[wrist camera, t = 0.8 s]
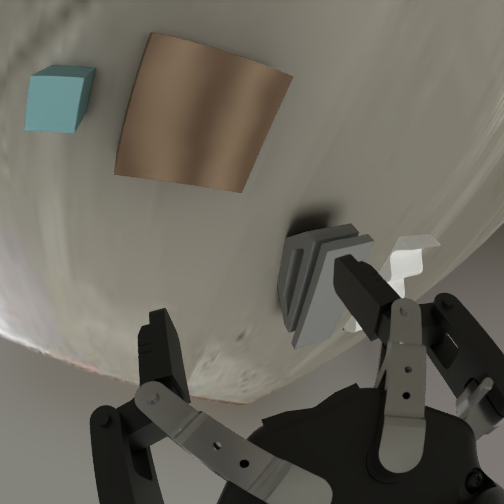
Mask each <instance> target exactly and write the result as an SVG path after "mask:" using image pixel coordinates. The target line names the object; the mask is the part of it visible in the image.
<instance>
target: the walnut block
mask: <svg viewBox="0 0 504 504" xmlns="http://www.w3.org/2000/svg"><path fill="white" fill-rule="evenodd" d="M292 79H293V76H290V75H288V74H286V73H283V72H281V71H278V70H276V69H273V68H271V67H268V66H266V65H263V64H261V63H258V62H255V61H252V60H250V59H247V58H244V57H241V56H238V55H235V54H232V53H229V52H226V51H223V50H220V49H216V48H213V47H210V46H206V45H202V44H199V43H195V42H191V41H188V40H184V39H179V38H175V37H171V36H167V35H162V34H157V33H150V36H149V39H148V41H147V44H146V47H145V50H144V53H143V56H142V59H141V62H140V65H139V68H138V71H137V74H136V78H135V81H134V84H133V88H132V91H131V95H130V98H129V102H128V106H127V110H126V114H125V118H124V122H123V126H122V130H121V135H120V139H119V144H118V149H117V154H116V163H115V172H114V175H121V176H130V177H138V178H146V179H153V180H161V181H168V182H175V183H182V184H189V185H195V186H202V187H208V188H215V189H221V190H227V191H233V192H238V193H242V191H243V189H244V186H245V184H246V181H247V179H248V177H249V174H250V172H251V170H252V168H253V165H254V163H255V161H256V158H257V156H258V154H259V151H260V149H261V147H262V145H263V142H264V140H265V138H266V136H267V133H268V131H269V129H270V127H271V124H272V122H273V120H274V118H275V116H276V113H277V111H278V109H279V107H280V105H281V102H282V100H283V98H284V96H285V94H286V91H287V89H288V87H289V85H290V83H291V81H292Z"/></svg>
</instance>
